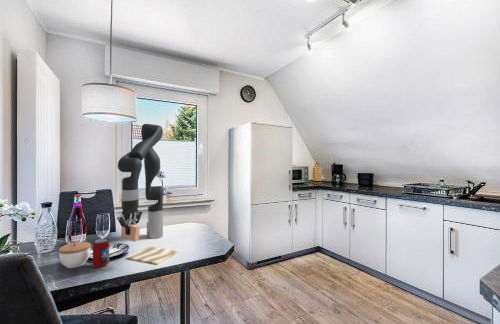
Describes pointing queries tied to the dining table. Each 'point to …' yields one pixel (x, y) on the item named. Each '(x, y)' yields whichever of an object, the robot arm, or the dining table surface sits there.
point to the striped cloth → (152, 255)
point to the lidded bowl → (74, 254)
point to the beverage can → (100, 253)
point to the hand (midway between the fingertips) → (130, 233)
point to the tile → (131, 233)
